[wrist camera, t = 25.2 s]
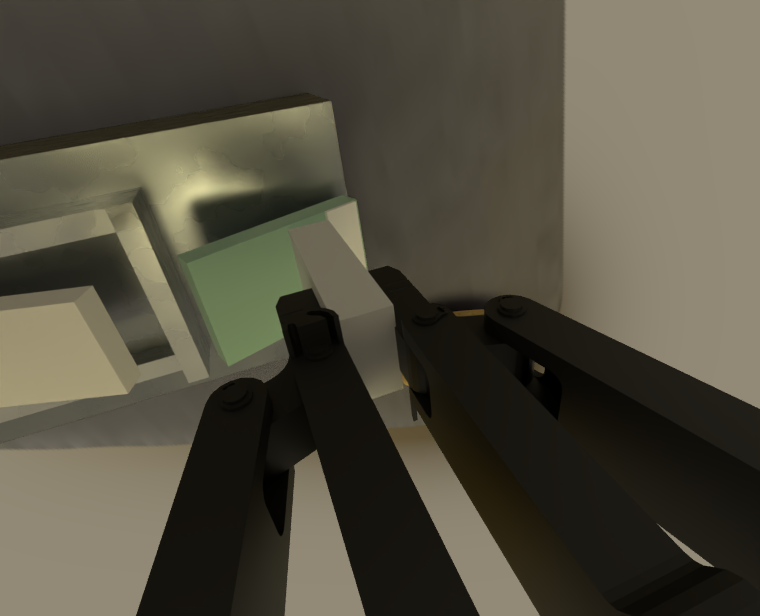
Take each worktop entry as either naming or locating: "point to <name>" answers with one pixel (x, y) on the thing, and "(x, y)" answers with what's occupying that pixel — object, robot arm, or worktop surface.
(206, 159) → the grey storage bin
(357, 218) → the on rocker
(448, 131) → the worktop surface
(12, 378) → the rocker
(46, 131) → the worktop surface
